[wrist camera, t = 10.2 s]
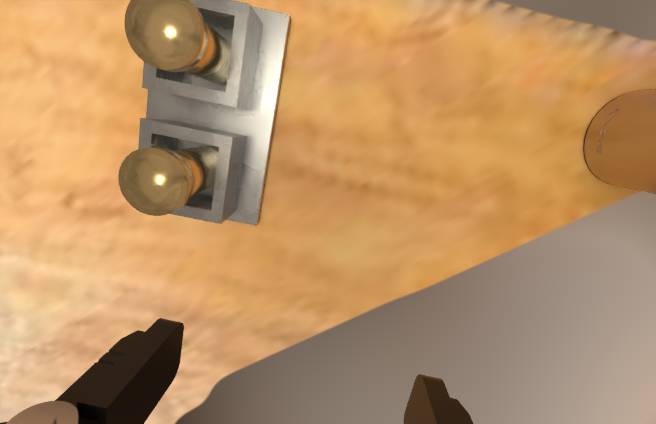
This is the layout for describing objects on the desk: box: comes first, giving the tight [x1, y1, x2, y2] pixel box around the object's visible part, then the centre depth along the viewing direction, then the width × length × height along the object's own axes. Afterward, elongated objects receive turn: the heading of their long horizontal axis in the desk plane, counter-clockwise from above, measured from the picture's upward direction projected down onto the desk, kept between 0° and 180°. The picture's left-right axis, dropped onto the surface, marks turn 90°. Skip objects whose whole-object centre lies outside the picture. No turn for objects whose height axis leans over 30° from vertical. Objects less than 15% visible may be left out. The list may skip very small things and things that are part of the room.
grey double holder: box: [125, 0, 291, 225], centre depth 28 cm, size 12×20×11 cm, turn 168°
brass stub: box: [119, 146, 218, 216], centre depth 28 cm, size 5×5×10 cm
